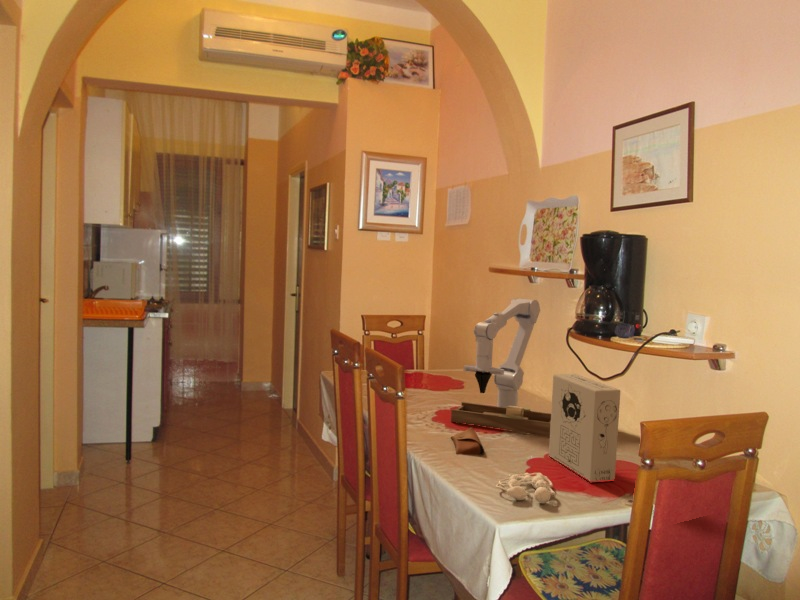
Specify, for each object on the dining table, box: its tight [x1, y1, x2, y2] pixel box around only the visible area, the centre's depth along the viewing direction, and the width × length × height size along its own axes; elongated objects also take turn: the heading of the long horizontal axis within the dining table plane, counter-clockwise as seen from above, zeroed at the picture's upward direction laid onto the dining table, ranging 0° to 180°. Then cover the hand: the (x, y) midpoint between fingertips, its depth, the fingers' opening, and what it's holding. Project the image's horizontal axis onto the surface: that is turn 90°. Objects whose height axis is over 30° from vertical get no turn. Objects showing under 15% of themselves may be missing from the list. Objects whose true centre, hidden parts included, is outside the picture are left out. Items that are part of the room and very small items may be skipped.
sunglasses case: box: [450, 426, 485, 456], centre depth 191 cm, size 18×7×7 cm, turn 3°
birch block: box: [506, 405, 524, 417], centre depth 214 cm, size 5×5×4 cm
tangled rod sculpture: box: [495, 472, 556, 504], centre depth 157 cm, size 19×14×4 cm
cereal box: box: [548, 373, 621, 481], centre depth 172 cm, size 22×8×25 cm, turn 17°
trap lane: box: [450, 401, 551, 438], centre depth 215 cm, size 13×34×5 cm, turn 67°
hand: (482, 392), depth 223 cm, fingers closed
